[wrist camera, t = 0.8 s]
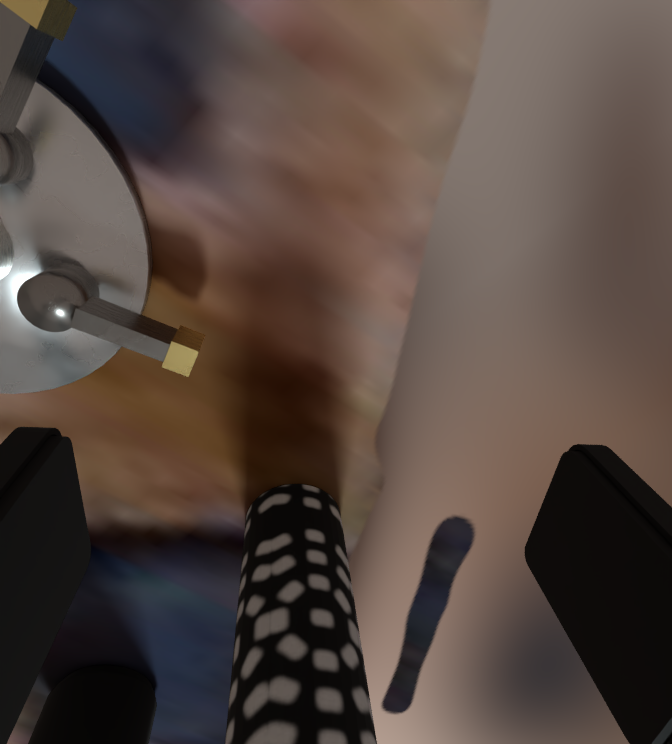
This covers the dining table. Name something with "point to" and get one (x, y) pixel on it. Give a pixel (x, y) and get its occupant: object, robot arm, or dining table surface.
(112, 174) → the tribrach plate
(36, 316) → the metal scoop
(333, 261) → the dining table surface
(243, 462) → the dining table surface
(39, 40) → the metal scoop
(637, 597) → the robot arm
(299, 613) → the spotted tube
